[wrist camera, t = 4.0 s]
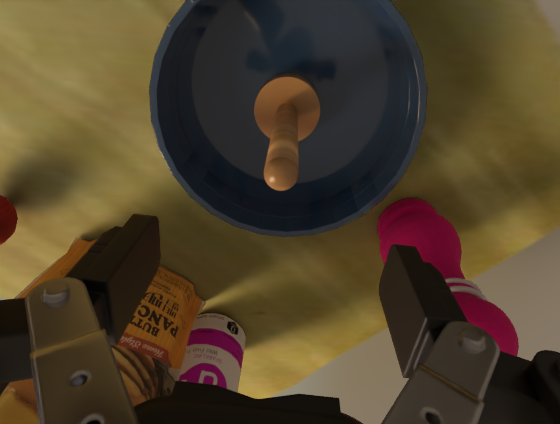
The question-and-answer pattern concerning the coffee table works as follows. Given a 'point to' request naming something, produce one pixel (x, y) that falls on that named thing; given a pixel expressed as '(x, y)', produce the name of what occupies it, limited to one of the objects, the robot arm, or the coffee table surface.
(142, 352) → the pancake mix bag
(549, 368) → the robot arm
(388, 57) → the bowl
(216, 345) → the supplement can
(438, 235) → the pepper mill
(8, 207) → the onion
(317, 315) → the coffee table surface
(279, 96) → the wooden disc peg
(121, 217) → the coffee table surface
